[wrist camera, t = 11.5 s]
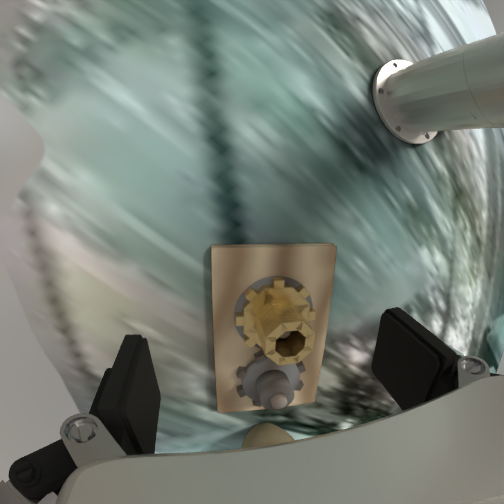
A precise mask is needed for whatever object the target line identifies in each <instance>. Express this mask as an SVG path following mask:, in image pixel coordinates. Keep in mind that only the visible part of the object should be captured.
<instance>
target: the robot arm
mask: <svg viewBox="0 0 504 504" xmlns="http://www.w3.org/2000/svg"><path fill="white" fill-rule="evenodd" d="M373 98H374V103H375V106H376V110H377V112H378V114H379V116H380V118H381V120H382V121H383V123H384V125H385V126H386V127H387V128H388V130H389V131H390V132H391V133H392V134H393V135H395V136H396V137H397V138H399V139H400V140H402V141H404V142H407V143H410V144H423V143H426V142H429V141H430V140H432V139H433V138H434V137H435V136H436V134H437V132H438V131H447V130H461V129H479V128H504V32H503V33H500V34H497V35H494V36H491V37H488V38H485V39H482V40H478V41H475V42H472V43H469V44H466V45H463V46H460V47H457V48H454V49H451V50H448V51H445V52H443V53H440V54H437V55H434V56H432V57H429V58H426V59H424V60H421V61H419V62H416V63H414V64H413V63H411V62H408V61H405V60H393V61H389V62H387V63H385V64H384V65H382V66H381V67H380V68H379V69H378V71H377V72H376V75H375V77H374V81H373ZM456 356H457V353H456V352H455V351H453V350H452V349H451V348H450V347H448V346H447V345H446V344H445V343H444V342H442V341H441V340H440V339H439V338H437V337H436V336H435V335H434V334H432V333H431V332H430V331H429V330H427V329H426V328H425V327H424V326H422V325H421V324H420V323H419V322H417V321H416V320H415V319H413V318H412V317H411V316H410V315H408V314H407V313H406V312H404V311H403V310H402V309H401V308H399V307H396V308H391V309H387V310H385V312H384V313H383V314H382V316H381V320H380V326H379V331H378V337H377V342H376V347H375V351H374V356H373V361H372V371H373V373H374V374H375V376H376V377H377V378H378V380H379V381H380V382H381V383H382V385H383V386H384V387H385V388H386V390H387V391H388V392H389V393H390V395H391V396H392V397H393V399H394V400H395V401H396V402H397V404H398V405H399V406H400V408H401V409H402V410H403V411H401V412H399V413H396V414H393V415H390V416H387V417H384V418H381V419H378V420H375V421H372V422H368V423H365V424H362V425H358V426H355V427H351V428H348V429H344V430H340V431H336V432H332V433H328V434H324V435H320V436H315V437H311V438H306V439H301V440H296V441H290V442H285V443H279V444H273V445H266V446H259V447H252V448H243V449H233V450H222V451H210V452H193V453H165V454H154V451H155V442H156V433H157V424H158V416H159V408H160V400H161V397H160V391H159V387H158V383H157V379H156V376H155V372H154V368H153V363H152V359H151V355H150V351H149V346H148V342H147V339H146V338H142V336H141V335H126V336H125V337H124V340H123V342H122V345H121V347H120V349H119V352H118V354H117V357H116V359H115V362H114V364H113V367H112V368H108V369H106V371H105V373H104V376H103V378H102V381H101V383H100V386H99V388H98V391H97V393H96V396H95V398H94V401H93V404H92V406H91V409H90V412H89V414H86V413H83V414H76V415H73V416H71V417H69V418H68V419H66V420H65V421H64V423H63V424H62V426H61V429H60V435H61V438H62V439H60V440H58V441H56V442H54V443H52V444H50V445H48V446H46V447H44V448H42V449H39V450H38V451H35V452H33V453H31V454H29V455H27V456H24V457H22V458H20V459H19V460H17V461H15V462H14V463H13V464H12V465H11V467H10V470H9V479H10V480H8V481H7V482H6V483H5V482H4V481H3V480H2V481H1V482H0V504H504V375H499V374H493V373H490V371H489V367H488V365H487V363H486V362H485V361H484V360H482V359H481V358H478V357H475V356H464V357H462V358H460V359H459V360H458V363H457V362H456V361H455V359H456Z"/></svg>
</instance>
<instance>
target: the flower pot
mask: <svg viewBox="0 0 504 504" xmlns="http://www.w3.org/2000/svg"><path fill="white" fill-rule="evenodd" d="M290 441H295V440H294V439H293V438H292V437H291V436H290V435H289V434H288V433H287V432H286V431H284V430H283V429H281V428H280V427H278V426H276V425H274V424H271V423H262V424H258V425H256V426H254V427H252V428H251V429H250V431H249V432H248V434H247V435H246V437H245V439H244V442H243V444H242V448H241V449H243V448H252V447H259V446H266V445H273V444H279V443H285V442H290Z"/></svg>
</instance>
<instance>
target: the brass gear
mask: <svg viewBox="0 0 504 504" xmlns="http://www.w3.org/2000/svg"><path fill="white" fill-rule="evenodd" d="M284 281H285V280H284V279H283V278H282V277H272V285H262V286H261V287H260V288H259V289H258V290H257V291H256V290H254V289H253V288H252V287H250V288H249V289H248V290H247V291H246V292H245V293H244V295H245V298H246V299H248V300H247V301H245V302H244V303H243V312H235V323H236V326H242V329H243V332H244V334H245V335H246V336H245V337H244V338H243V339H244V343H245V344H247V345H248V346H249V347H250V348H252V347H253V346H254V345H255V344H256V343H257V344H258V345H259V346H260V347H262V348H263V350H264V353H265V355H266V356H267V357H268V358H270V359H271V360H272V361H274V362H275V363H276V364H278V365H286V364H295V363H299V362H300V361H301V360H302V359H303V358H304V357H306V356H307V355H308V354H309V353H310V352H311V351H312V350H313V346H314V338H315V332H314V330H313V329H312V328H311V326H310V325H309V323H308V321H312V320H315V315H316V311H315V310H314V309H313V308H310V304H309V303H308V301H307V300H306V299H305V298H306V297H307V296H309V295H310V293H309V292H308V291H307V290H306V289H305V288H304V287H303V286H302V285H301V284H300V285H299V286H298V287H297V288H296V289H295V288H294V287H293V286H292V285H291V284H284ZM285 331H291V333H290V335H289V336H288V337H286V338H279V337H280V336H281V335H282V334H283V333H284V332H285Z"/></svg>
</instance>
